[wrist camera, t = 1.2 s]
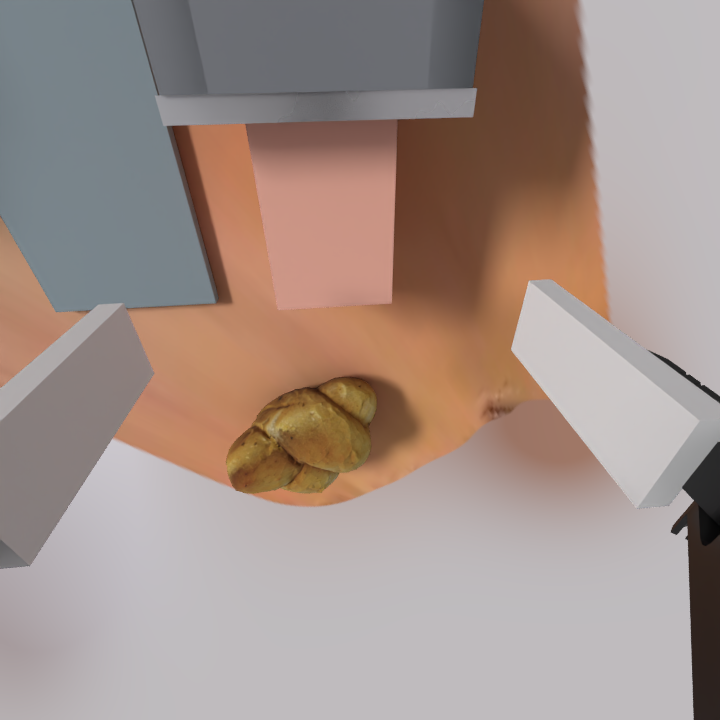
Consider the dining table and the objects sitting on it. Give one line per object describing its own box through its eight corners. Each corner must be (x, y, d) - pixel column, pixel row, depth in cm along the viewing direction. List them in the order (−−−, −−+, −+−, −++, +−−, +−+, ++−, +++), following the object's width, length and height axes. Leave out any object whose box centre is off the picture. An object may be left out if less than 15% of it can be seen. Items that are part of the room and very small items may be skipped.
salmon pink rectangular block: (253, -2, 18) (212, -64, 11) (374, -3, 18) (403, -64, 12) (289, 257, 25) (277, 310, 19) (374, 252, 26) (391, 303, 19)
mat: (-150, -73, 15) (-171, -81, 15) (117, -73, 16) (108, -81, 15) (62, 306, 26) (55, 312, 25) (218, 298, 26) (216, 303, 26)
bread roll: (350, 346, 30) (358, 413, 23) (399, 416, 35) (417, 487, 29) (228, 409, 33) (205, 484, 26) (290, 465, 38) (284, 539, 31)
